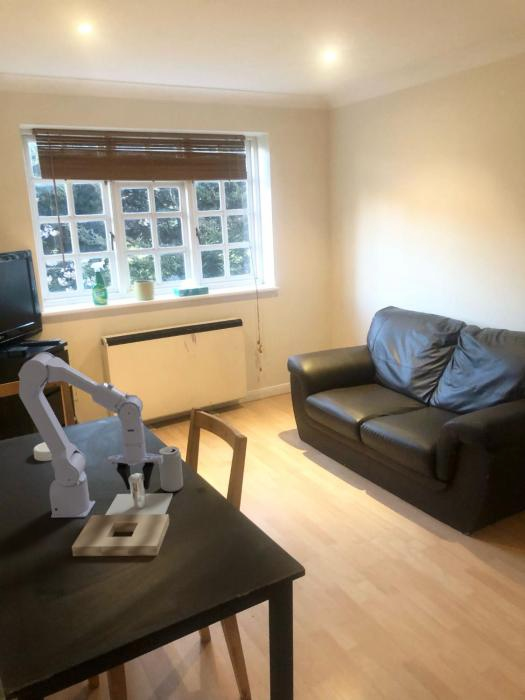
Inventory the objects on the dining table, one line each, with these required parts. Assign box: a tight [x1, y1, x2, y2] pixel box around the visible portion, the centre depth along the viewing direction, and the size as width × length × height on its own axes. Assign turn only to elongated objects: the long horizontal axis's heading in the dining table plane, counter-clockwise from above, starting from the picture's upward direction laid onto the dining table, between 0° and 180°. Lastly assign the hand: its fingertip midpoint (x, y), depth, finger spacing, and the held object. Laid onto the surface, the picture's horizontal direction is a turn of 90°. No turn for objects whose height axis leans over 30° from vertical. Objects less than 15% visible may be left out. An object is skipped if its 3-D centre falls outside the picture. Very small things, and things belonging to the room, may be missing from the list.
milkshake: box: [128, 472, 147, 509], centre depth 148 cm, size 4×5×10 cm
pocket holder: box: [71, 513, 170, 557], centre depth 135 cm, size 20×14×2 cm
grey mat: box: [104, 492, 174, 515], centre depth 150 cm, size 16×12×1 cm
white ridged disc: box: [32, 441, 52, 462], centre depth 186 cm, size 10×10×4 cm
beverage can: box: [158, 445, 184, 493], centre depth 158 cm, size 6×6×12 cm
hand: (138, 487), depth 149 cm, fingers closed on milkshake, 4 cm apart
